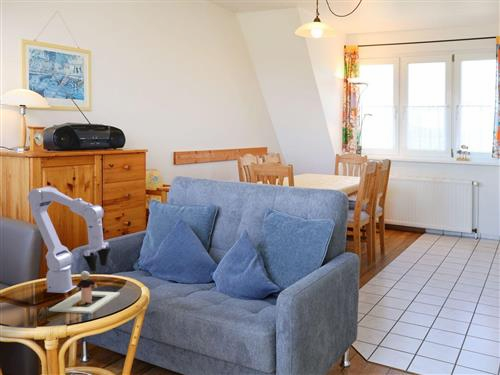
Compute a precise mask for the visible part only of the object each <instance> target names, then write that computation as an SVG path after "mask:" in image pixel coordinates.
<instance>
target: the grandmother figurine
mask: <svg viewBox="0 0 500 375" xmlns="http://www.w3.org/2000/svg"><path fill="white" fill-rule="evenodd" d="M80 276H81V280H80V281H79V282H78V283H77V285H76V286H77V287H76V289H75V291H76V292H79V291H81V302H80V305H86V303H87V304H92V303H93V301H92V300H93V296H92V291H93V290H92V287H91V286H93V287H94V288H95V289H96V288H98V285H97V284H96V282H95V280H92V279H89V277H90V276H91V274H90V272H89V271H86V270H83V271H81V273H80ZM80 288H81V290H80Z"/></svg>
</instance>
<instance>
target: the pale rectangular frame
mask: <svg viewBox="0 0 500 375" xmlns="http://www.w3.org/2000/svg"><path fill="white" fill-rule="evenodd" d="M91 291H92V297H96V298H97V297H99V298H101V299H98V301H96V302H94V303H93V304H91V305H90V306H87V307H86V306H85V307H84V306H74V305H76V304H77V303H79V302H80V301H81V302H82V300H81V290H78V291H77V292H76V293H74V294H73V295H71V296H69V297H67V298H65V299H63V301H61V302H59V303H57V304H54V305H53V306H52V307H50V308H48V312H58V313H59V312H60V313H72V314H73V313H74V314H89V315H91V314H93V313H95V312H96V311H98V310H99V309H100V308H102V307H103V306H105V305H106V304H108V303H110V302H111V301H112V300H113V299H115V298H117V297H118V296H121V295H120V293H121V292H115V291H98V290H91Z"/></svg>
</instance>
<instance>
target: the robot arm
mask: <svg viewBox="0 0 500 375" xmlns="http://www.w3.org/2000/svg"><path fill="white" fill-rule="evenodd" d="M27 201H28V203H29V205H30V212H31V214H32V217H33V219H34V221H35V224H36V225H37V228H38V230H39V232H40V235H41V237H42V239H43V241H44V244H45V246H46V248H47V250H48V251H47V253H46V254H45V259H46V266H47V268H48V271H47V272H46V278H45V279H46V286H47V290H46V293H55V294H56V293H57V294H58V293H59V294H66V293H68V292H70V291H72V290H74V289H75V288H76V289H77V285H73V280H72V273H71V272H72V271H71V268H72V264H73V263H74V256H73V254H72V252H70V250H69V248H68V247H67V246H65V245H63V244H62V242H61V241H60V239H59V236H58V233H57V231H56V229H55V227H54V224H53V223H52V220H51V218H50V215H49V213H48V212H47V210H48V208H49V206H50V205H51V204H52V203H53V202H56V203H59V204H61V205H63V206H67V207H68V208H69V210H70V211H71V212H72V213H75V214H76V215H79V216H81V217H82V218H83V219H84V220H85V225H86V228H87V229H86V230H87V240H88V247H87V248H86V249H85V250H83V255H82V258H83V259H84V260H85V262H86V263H87V265H88V268H89V271H90V272H96V270H97V259H98V258H99V263H100V266H101V267H102V266H103V267H106V266H107V262H108V258H109V253H110V252H111V247H110V246H109V241H104V233H103V232H104V231H103V220H102V218H103V217H104V215H105V210H104V208H103V207H102V206H100V205H99V204H95V205H94V204H92V203H91V202H86V201H84V200H83V198H81V197H79V198H77V197H76V198H74V199H73V198H71V197H70V196H68V195H66V194H65V193H62V192H60V191H59V190H58V188H56V187H53V186H51V185H47V186H44V187H40V188H33V189H31V190H30V191H29V192H28V195H27ZM96 252H97V254H94V253H96Z"/></svg>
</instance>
